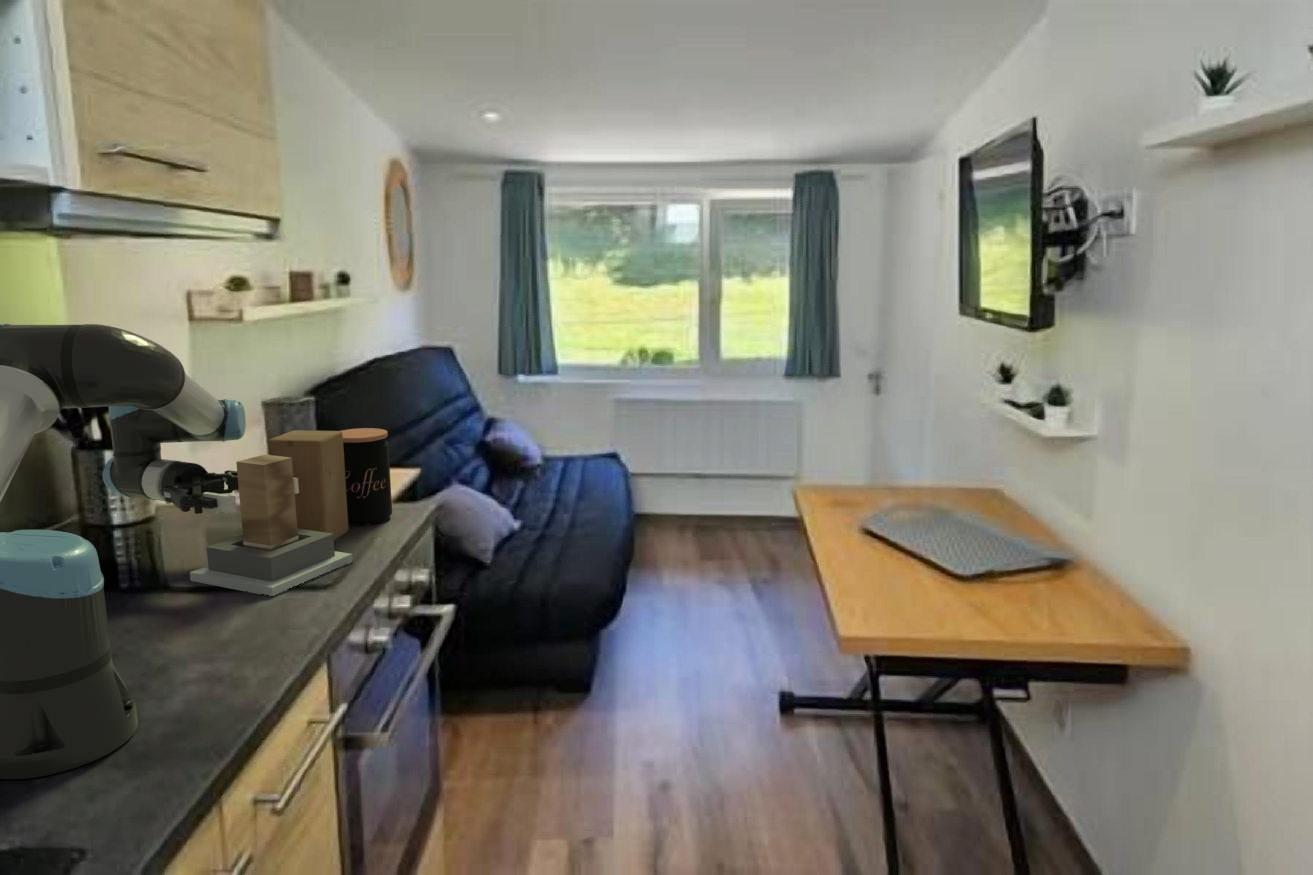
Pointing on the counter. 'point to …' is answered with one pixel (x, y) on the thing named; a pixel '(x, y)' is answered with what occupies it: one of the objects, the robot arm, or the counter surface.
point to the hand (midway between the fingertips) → (266, 494)
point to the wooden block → (316, 478)
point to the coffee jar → (367, 476)
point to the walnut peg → (267, 502)
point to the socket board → (269, 585)
